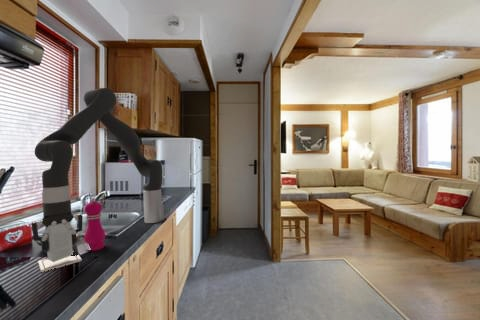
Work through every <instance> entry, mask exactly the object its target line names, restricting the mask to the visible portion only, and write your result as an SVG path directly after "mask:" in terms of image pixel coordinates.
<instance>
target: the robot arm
mask: <svg viewBox="0 0 480 320" xmlns="http://www.w3.org/2000/svg"><path fill="white" fill-rule="evenodd" d="M82 98H83V102H84V104H85V106H86V107H84V108H83V109H82V110H80V111H79V112H77V113H75V114H73V115H72V116H71V117H69V118H68V119H67V120H66V121H65V122H64V123H63V124H62V125H61V126H60V127H59V128H58V129H57V130H55V131H54V132H52V133H50V134H49V135H47V136H45V137H43V138H42V139H41V140H40V141H39V142H38V143H37V144H36V146H35V147H34V155H35V157H36V158H37V159H38V160H39V161H41V162H45V163H46V162H52V163H51V164H50V168H48V169H44V170H43V171H42V174H41V175H42V176H41V179H42V181H41V182H42V183H41V184H42V193H41V195H42V198H41V199H42V200H41V201H42V212H43V217H42V219H41V220H38V221H32V222H31V223H30V224H31V230H32V238H33V240H34V242H40V243H41V244H40V245H41V247H40V248H41V251H42V252H44V253H47V252H48V247H47V237H48V235H49V228H48V226H49V225H50V226H52V225H56V224H60V223H63V224H64V225H65V226H66V227H67V229H68V230H71V234H72V246H75V244H76V243H77V233H80V232H82V231H83V220H84V219H83V214H82V213H76V214H73V213H72V201H71V200H72V199H71V198H72V196H71V190H70V182H69V172H70V169H71V164H72V160H73V156H74V151H73V147H72V145H75V144H77V143H78V142H79V141H81V139H82V138H83V137H84V135H86V133H87V132H88V130H90V129H91V128H92V127H93V125H95V124H96V123H97V122H98V121H99V122H100V123H101V124H102V125H103V126H104V127H105V128H106V130H107V131H108V133H110V134H111V136H112V137H113V138H114V140H115V141H116V143H117V144H118V145H119V146H120V147H121V149H123V152H125V153H126V155H127V156H128V158H129V159H130V160H131V161H132V163H133V164H134V167H135V168H136V169H137V171H138V173H139V175H141V177H145V178H149V180H148V182H147V183H145V184H143V185H142V195H143V217H144V218H143V219H144V221H143V222H144V224H145V223H146V224H154V223H160V222H162V221H165V219H164V218H165V215H164V213H165V211H164V203H163V202H162V200H163V199H162V184H163V164H162V163H161V161H160V160H158V159H147V158H146V157H145V155H144V154H143V152H142V150H141V148H142V147H141V145H142V144H141V143H142V142H141V139H140V137H139V136H138V134H137V133H136V132H135V129H133V128H132V127H131V126H130V125H128V124H127V123H126V122H125V121H122V120H121V119H119V118H117V117H116V116H115V115H114V114H113V113H112V112H111V111H112V110H113V109H114V108H115V106H117V100H118V99H117V96H116V94H115V93H114V92H113V90H111V89H110V88H108V87H99V88H96V89H92V90H89V91H86V92H84V94H83V96H82ZM73 219H74V220H75V221H76V227H75V228H73V227H72V224H71V225H70V224H69V223H68V222H71V223H72V220H73ZM42 225H43V226H44V227H45V226H46V227H47V228H48V229H47V231H46V230H45V229H44V230H43V233H42V235H39V231H38V229H39V228H40V227H41V226H42Z"/></svg>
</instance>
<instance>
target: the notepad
mask: <svg viewBox="0 0 480 320" xmlns="http://www.w3.org/2000/svg"><path fill="white" fill-rule="evenodd" d="M82 260H83V259H82V257H81V256H80V255H79V254H78V255H77V256H76V255H75V256H69V257H66V258H63V259H60V260H58V261H55V262H52V261H50V260H48V257H47V258H44V259H39V260H37V262H38V267H39V270H40V273H41V272H42V273H45V272H49V271H52V270H55V269H54V268H56V269H58V268H62V267H65V265H66V266H69V265H73V264H75V263H76V264H77V263H79V262H82ZM51 269H52V270H51ZM48 270H49V271H48ZM44 271H45V272H44Z"/></svg>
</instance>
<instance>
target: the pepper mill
mask: <svg viewBox="0 0 480 320" xmlns="http://www.w3.org/2000/svg"><path fill="white" fill-rule="evenodd" d="M102 210H103V204H101V203H100V202H98V201H96V198H94V197H91V198H90V202H88V203H87V204H86V205H85V206H84V213H85V214H86V216H85V217H86V220H87V228H86V230H85V232H84V236H83V240H84V241H83V242H85V243H86V245H87V244H89V246H90V248H91V250H92V251H91V252H94V251H99V250H102V249H103V248H104V247H105V241H104V240H105V238H106V232H105V230H104V228H103V227H102V224H101V218H102V213H101V212H102Z"/></svg>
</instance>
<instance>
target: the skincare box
mask: <svg viewBox="0 0 480 320" xmlns="http://www.w3.org/2000/svg"><path fill="white" fill-rule="evenodd" d="M68 223H69V224H70V225H71V226H72V221H71V222H68ZM44 227H45V228H44V231H45V230H46V231H47V229H48V228H49V235H48V237H47V247H48V252H46V254H47V258H48V260H50V261H52V262H55V261H58V260H60V259H63V258H66V257H69V256H71V255H73V252H74V250H73V248H74V247H73V245H72V234H71V230H68V229H67V227H66V226H65V225H64V224H63V223H60V224H56V225H52V226H50V225H49V226H48V228H47V227H46V226H45V225H44Z"/></svg>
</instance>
